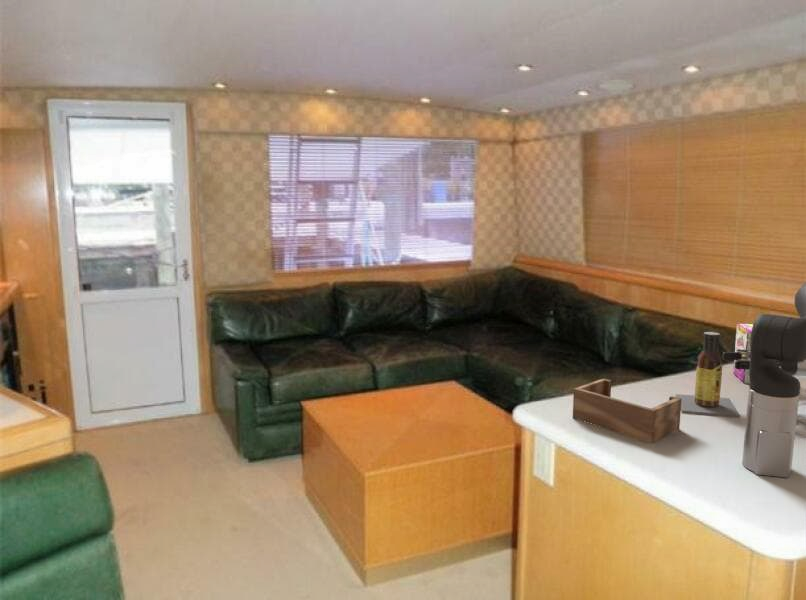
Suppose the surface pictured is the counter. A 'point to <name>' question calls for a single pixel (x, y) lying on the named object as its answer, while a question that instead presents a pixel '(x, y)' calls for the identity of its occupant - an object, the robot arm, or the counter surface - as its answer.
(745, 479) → the counter surface
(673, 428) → the walnut crate
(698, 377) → the sauce bottle
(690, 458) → the counter surface
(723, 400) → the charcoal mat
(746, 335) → the candy bar box
